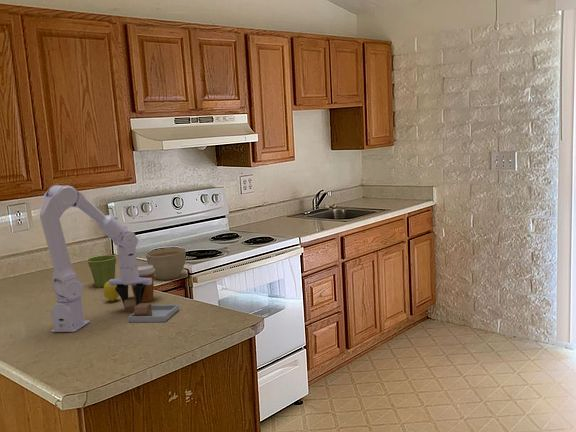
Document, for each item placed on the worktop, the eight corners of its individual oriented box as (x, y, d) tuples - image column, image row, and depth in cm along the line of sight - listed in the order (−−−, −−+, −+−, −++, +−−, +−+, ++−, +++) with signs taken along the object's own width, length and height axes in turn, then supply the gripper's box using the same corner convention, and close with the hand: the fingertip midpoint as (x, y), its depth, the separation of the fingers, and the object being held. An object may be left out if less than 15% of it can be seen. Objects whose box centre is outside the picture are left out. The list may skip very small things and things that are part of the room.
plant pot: (83, 289, 227) (79, 261, 225) (101, 281, 238) (98, 254, 236) (108, 289, 223) (105, 261, 221) (126, 281, 234) (123, 254, 233)
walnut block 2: (147, 319, 179) (146, 307, 179) (135, 319, 180) (134, 307, 180) (152, 315, 183) (151, 303, 183) (140, 315, 184) (139, 303, 183)
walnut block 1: (136, 311, 190) (135, 300, 190) (125, 312, 191) (124, 300, 190) (141, 308, 194) (140, 296, 193) (130, 308, 195) (129, 296, 194)
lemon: (116, 303, 202) (113, 281, 201) (101, 303, 203) (99, 281, 202) (123, 298, 207) (121, 277, 206) (109, 299, 209) (107, 277, 208)
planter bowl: (140, 279, 236) (138, 253, 235) (174, 271, 247) (171, 246, 246) (162, 284, 225) (159, 257, 223) (196, 275, 236) (193, 249, 234)
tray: (165, 322, 177) (164, 316, 176) (129, 322, 179) (128, 317, 179) (179, 310, 188) (178, 304, 188) (144, 310, 191) (144, 305, 190)
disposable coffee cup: (163, 297, 206) (159, 264, 205) (148, 304, 197) (145, 270, 196) (140, 296, 209) (136, 264, 208) (125, 304, 200) (121, 270, 199)
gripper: (154, 262, 193) (158, 301, 195) (114, 264, 195) (118, 302, 197) (145, 267, 186) (149, 308, 188) (104, 269, 189) (108, 309, 190)
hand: (133, 305), depth 192 cm, fingers closed on walnut block 1, 4 cm apart
